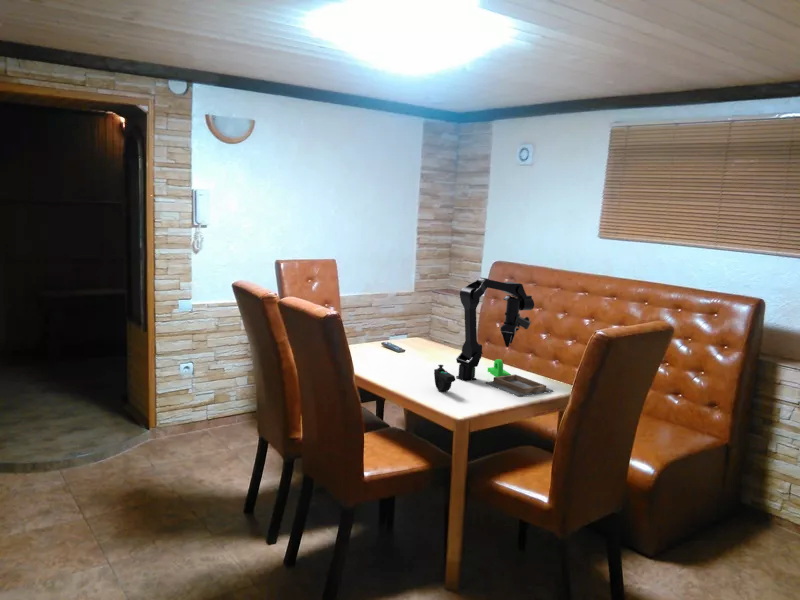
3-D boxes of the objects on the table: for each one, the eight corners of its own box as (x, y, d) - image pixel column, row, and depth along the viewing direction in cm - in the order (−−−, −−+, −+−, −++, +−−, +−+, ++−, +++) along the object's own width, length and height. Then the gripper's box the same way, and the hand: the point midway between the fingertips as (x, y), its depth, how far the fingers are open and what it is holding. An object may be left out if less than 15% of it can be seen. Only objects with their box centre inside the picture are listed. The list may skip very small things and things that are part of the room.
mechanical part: (510, 378, 271) (512, 361, 270) (497, 379, 270) (499, 361, 268) (499, 371, 283) (501, 354, 281) (487, 371, 281) (488, 354, 280)
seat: (518, 396, 244) (519, 390, 243) (485, 383, 260) (486, 377, 260) (553, 391, 254) (553, 385, 253) (519, 379, 270) (519, 373, 270)
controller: (440, 387, 251) (442, 363, 250) (455, 396, 240) (457, 371, 239) (431, 387, 249) (432, 363, 248) (445, 396, 238) (447, 371, 237)
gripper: (527, 315, 263) (524, 351, 265) (533, 310, 281) (529, 344, 283) (501, 312, 267) (498, 347, 269) (509, 307, 284) (505, 340, 286)
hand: (508, 345), depth 276 cm, fingers open, 9 cm apart
